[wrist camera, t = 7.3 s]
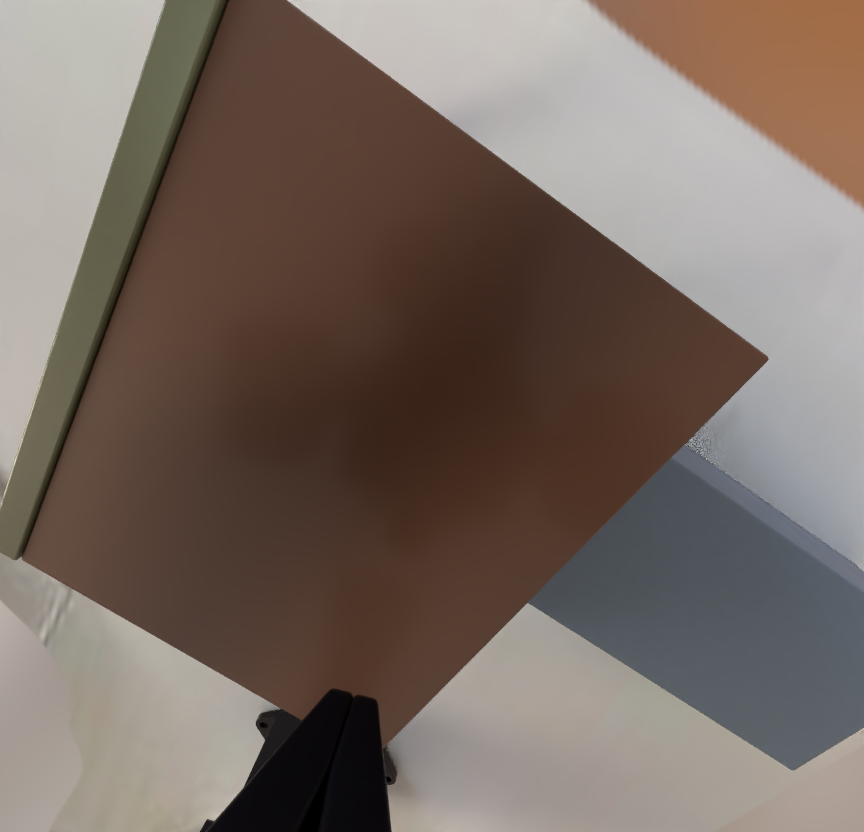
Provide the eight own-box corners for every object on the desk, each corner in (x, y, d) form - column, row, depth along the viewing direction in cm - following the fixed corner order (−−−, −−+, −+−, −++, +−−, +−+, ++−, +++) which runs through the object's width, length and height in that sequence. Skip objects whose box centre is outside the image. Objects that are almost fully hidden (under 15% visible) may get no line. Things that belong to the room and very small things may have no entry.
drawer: (644, 296, 12) (728, 325, 7) (377, 619, 16) (338, 746, 12) (266, 19, 11) (124, -123, 6) (95, 447, 15) (-54, 523, 11)
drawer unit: (616, 294, 17) (770, 359, 8) (424, 532, 22) (371, 761, 12) (389, 129, 16) (239, -36, 7) (238, 413, 21) (19, 560, 11)
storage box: (857, 566, 20) (969, 664, 15) (730, 662, 22) (793, 772, 18) (594, 381, 19) (628, 427, 14) (489, 504, 21) (488, 579, 16)
